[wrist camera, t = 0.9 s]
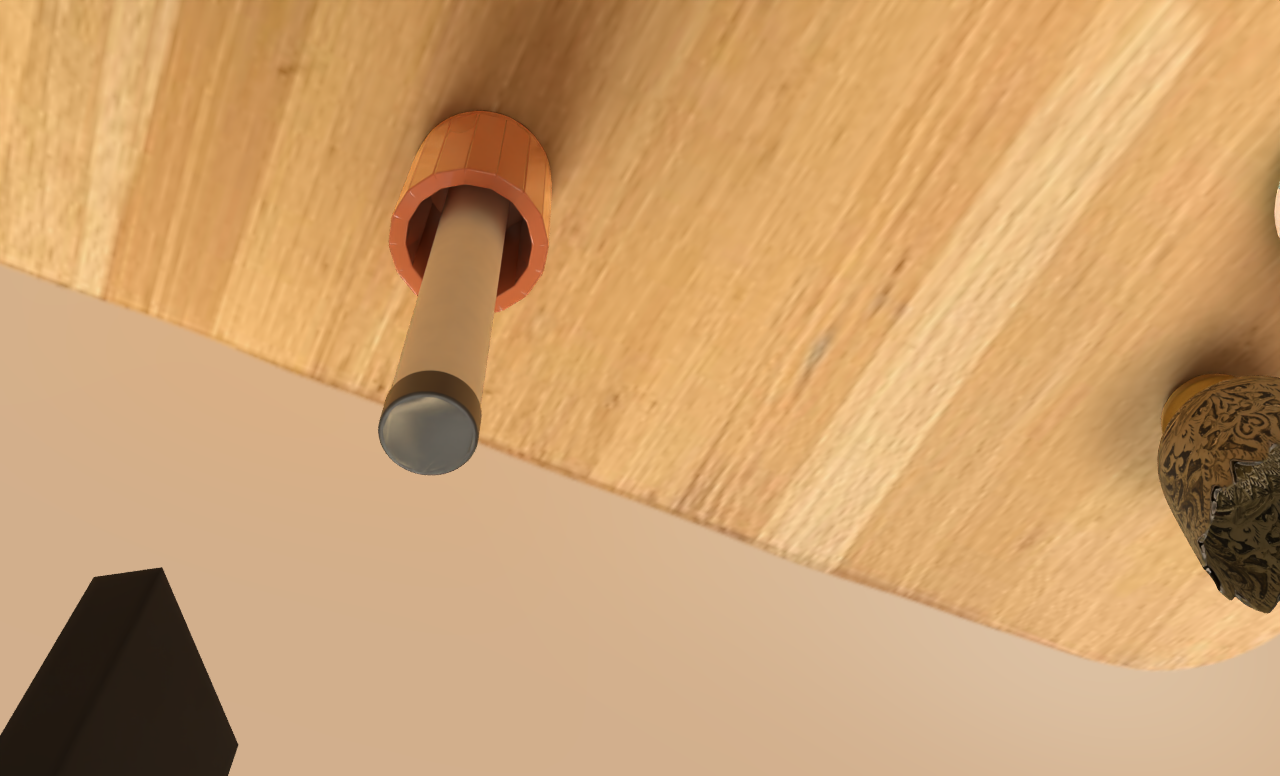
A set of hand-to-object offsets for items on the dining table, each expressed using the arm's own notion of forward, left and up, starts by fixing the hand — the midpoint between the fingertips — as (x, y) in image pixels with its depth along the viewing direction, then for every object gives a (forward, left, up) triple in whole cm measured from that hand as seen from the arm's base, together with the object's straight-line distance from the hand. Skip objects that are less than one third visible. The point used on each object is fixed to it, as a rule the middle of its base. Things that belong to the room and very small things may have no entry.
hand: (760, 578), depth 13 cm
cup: (+24, +11, -27) cm, 38 cm away
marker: (+1, -7, -26) cm, 27 cm away
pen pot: (+1, -7, -27) cm, 28 cm away
